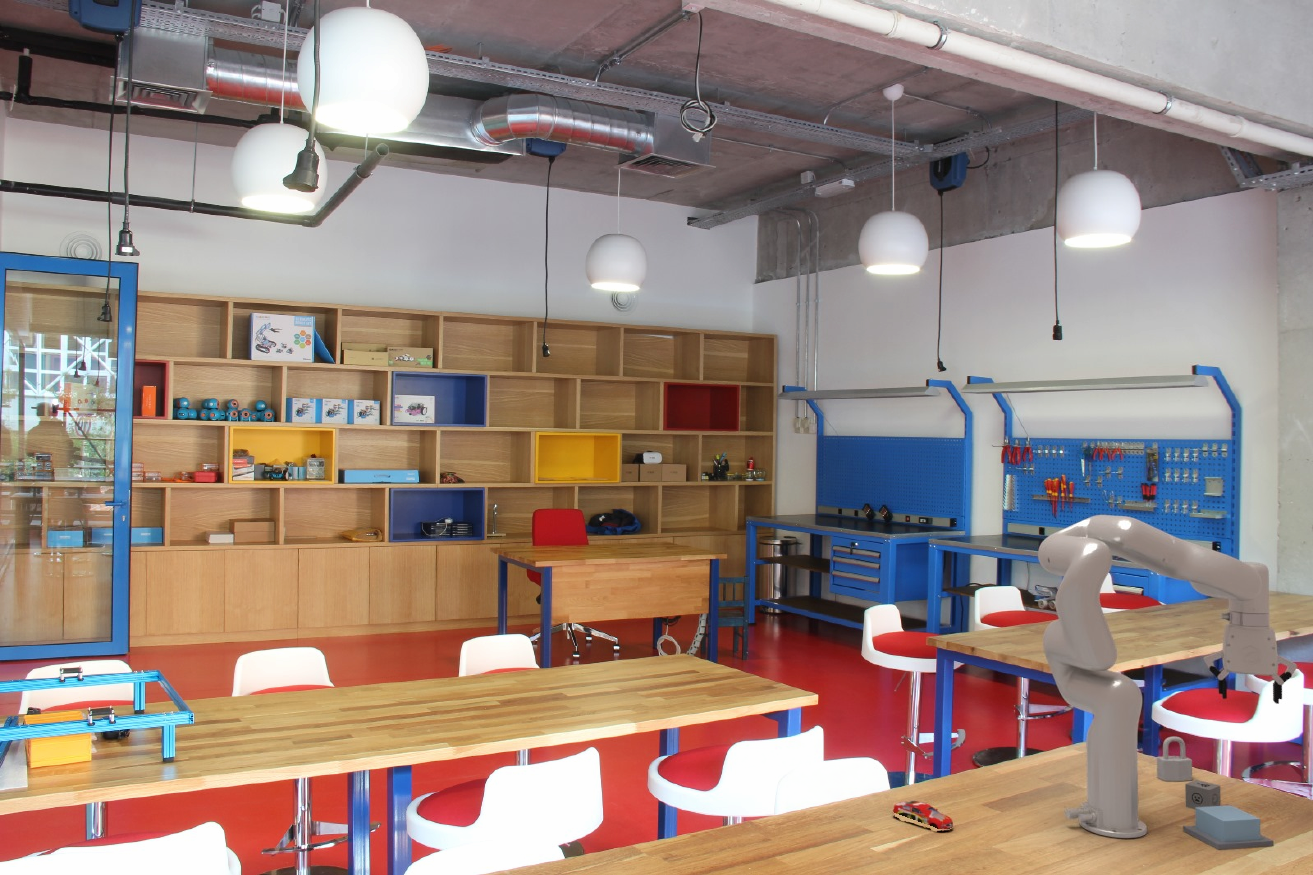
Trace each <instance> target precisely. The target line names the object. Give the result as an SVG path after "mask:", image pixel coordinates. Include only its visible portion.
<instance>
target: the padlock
mask: <svg viewBox="0 0 1313 875" xmlns="http://www.w3.org/2000/svg"><path fill="white" fill-rule="evenodd" d="M1173 742H1177V743H1178V744H1179V753H1180V754H1179V756H1178V755H1169V746H1170V743H1173ZM1156 777H1157V779H1160V780H1161V781H1164V782H1185V781H1186V782H1187V781H1189V782H1192V781H1193V759H1191V758H1189V757H1187V756H1186V743H1185V741H1184V739H1183V738H1181V737H1179V736H1169V737H1167V738H1165V739H1164V741H1163V744H1162V756H1156Z"/></svg>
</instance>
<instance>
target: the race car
mask: <svg viewBox="0 0 1313 875" xmlns="http://www.w3.org/2000/svg"><path fill="white" fill-rule="evenodd" d="M893 812H894V813H896V814H899V815H902V816H905V817H907V818H910V819H913V820H916V821H918V822H921V823H924V824H927V825H930V826H933V827H935V828H937V829H950V828H952V827H954V821H953V819H952V817H950V816H948V815H946V814H944V813H942V812H940V811H939V810H938V808H935V807H933V806H932V805H931V804H929V803H926V802H922V801H918V800H910V801H899V802H897V803H895V804H894V806H893V809H892V813H893Z"/></svg>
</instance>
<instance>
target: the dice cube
mask: <svg viewBox="0 0 1313 875" xmlns="http://www.w3.org/2000/svg"><path fill="white" fill-rule="evenodd" d="M1184 787H1185V808H1188V809H1193V810H1195V807H1210V806H1222V803H1221V801H1222V800H1221V797H1222V796H1221V785H1219V784H1215V783H1212V782H1207V781H1203V780H1199V779H1195V780H1191V781H1189V782H1187V783H1185V786H1184Z"/></svg>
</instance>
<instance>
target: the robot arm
mask: <svg viewBox="0 0 1313 875" xmlns="http://www.w3.org/2000/svg"><path fill="white" fill-rule="evenodd" d="M1113 556H1114V557H1119V558H1122V559H1125V560H1127V561H1128V562H1131V563H1133V564H1135V565H1139V566H1141V567H1143V568H1145V569H1147V570H1149V571H1151V572H1153V573H1155V574H1158V575H1160V576H1163V577H1165V578H1166V577H1167V578H1171V579H1175V580H1178V581H1182V582H1183V581H1184V582H1189V584H1190V585H1191V587H1192V588H1193V589H1194V590H1195V591H1196V592H1198V593H1199V594H1201V595H1203V596H1207V597H1213V598H1219V599H1226V600H1227V599H1228V611H1227V612H1221V616H1220V617H1221V620H1225V621H1227V622H1228V624H1227V623H1226V624H1225V627H1224V631H1223V638H1222V650H1219V651H1216V652H1214V653H1210V654H1209V655H1206V656H1204V657H1203V661H1204V663H1205V664H1206V666H1207V668H1208V669H1209V671H1210V672H1211V673H1212V674H1213V675H1214V676H1215V677H1216V678H1217V679H1218V682H1217V683H1218V694H1219V695H1221V697H1222V699H1223V700H1226V699H1228V698H1227V697H1228V695H1227V694H1228V692H1227V691H1228V690H1227V689H1228V688H1227V687H1228V686H1227V685H1228V684H1227V683H1228V682H1227V679H1226V677H1227V676H1228V675H1229V674H1230V673H1232V674H1240V675H1252V676H1253V675H1254V676H1267V677H1269V676H1270V677H1271V678H1272V679H1273V680H1274V681H1273V682H1272V700H1273V702H1274V703H1275V704H1276V705H1277V704H1280V700H1283V685H1284V684H1285V683H1286V682H1287V681H1288V680H1289V679H1291V678H1292V676H1293V674H1294V673H1295V672H1296V670H1297V668H1298V665H1297V664H1296V663H1295V662H1294V661H1291V660H1289V659H1287V658H1285V657H1283V656H1282V655H1279V654H1278V645H1277V638H1276V633H1275V629H1274V628H1273V627H1271V626H1270V580H1269V579H1270V577H1269V576H1270V574H1269V568H1268V566H1267V565H1266V564H1264V563H1260V562H1254V561H1253V562H1252V561H1242V560H1240V559H1238V558H1235V557H1233V556H1232V555H1231V556H1230V555H1229V554H1225V553H1222V552H1221V551H1217V550H1214V549H1211V548H1208V547H1205V546H1201V545H1199V544H1197V543H1194V542H1190V541H1187V540H1184V539H1181V538H1179V537H1177V536H1174V535H1172V534H1170V533H1167V532H1165V531H1163V530H1161V529H1160V528H1157V527H1154V526H1152V525H1151V524H1148V523H1146V522H1144V521H1141V520H1139V519H1137V518H1134V517H1132V516H1127V515H1125V516H1124V515H1112V514H1109V515H1108V514H1096V515H1093V516H1090V517H1088V518H1085V519H1082V520H1081V521H1079V522H1076V523H1074V524H1071V525H1070V526H1067V527H1065V528H1063V529H1061V530H1058V531H1056V532H1054V533H1052V534H1050V535H1048V536H1047V537H1046V538H1045V539H1044V540H1042V542H1041V543H1040V545H1039V548H1038V551H1037V557H1038V562H1039V563H1040V566H1041V567H1042V569H1044V570H1045V571H1046V572H1048V573H1050V574H1052V575H1055V576H1062V577H1063V578H1062V580H1061V582H1060V584H1059V586H1058V588H1057V592H1056V595H1055V600H1054V602H1055V610H1056V611H1055V612H1056V613H1057V618H1058V619H1055V620H1053V621H1051V622H1050V623H1049V624H1048V625H1047V626H1046V628H1045V630H1044V633H1043V637H1042V648H1043V651H1044V652H1043V653H1044V655H1045V659H1046V661H1047V664H1048V666H1049V669H1050V672H1051V674H1052V677H1053V679H1054V681H1055V684H1056V687H1057V689H1058V691H1059V693H1060V694H1061V697H1062V699H1064V701H1065V702H1066V703H1067V704H1068V705H1070V706H1072V707H1073V708H1076V709H1078V710H1081V711H1084V712H1086V713H1090V714H1092V715H1093V718H1092V721H1091V723H1090V725H1089V727H1088V730H1087V733H1086V742H1085V744H1086V799H1087V800H1086V801H1082V802H1081V806H1079V807H1078V808H1065V810H1064V815H1065V817H1066V819H1068V820H1071V819H1074V820H1075V819H1078V821H1079V825H1080V826H1081V827H1082V828H1083V829H1085V830H1086V831H1089V832H1091V833H1093V834H1096V835H1100V836H1104V837H1108V838H1109V837H1111V838H1117V839H1134V838H1140V837H1144V836H1145V835H1146V834H1147V833H1148V832H1147V831H1148V827H1147V824H1146V823H1144V821H1142V820H1140V819H1139V787H1138V786H1139V783H1138V781H1139V780H1138V779H1139V778H1138V777H1139V776H1138V775H1139V773H1138V772H1139V771H1138V769H1139V768H1138V765H1139V764H1138V731H1139V730H1138V729H1139V722H1140V716H1141V711H1142V707H1143V694H1142V691H1141V689H1140V686H1138V684H1137V683H1136V682H1135V681H1134V680H1133V679H1131V678H1130V677H1128V676H1127V675H1125V674H1122V673H1120V672H1116V671H1112V670H1110V669H1112V667H1114V666H1115V664H1116V663H1117V658H1118V650H1117V647H1116V643H1115V640H1114V637H1113V635H1112V632H1111V629H1110V627H1109V625H1108V624H1109V623H1108V622H1107V620H1106V617H1105V613H1104V611H1103V608H1102V605H1101V600H1100V594H1101V590H1102V588H1103V584H1104V582H1105V580H1106V578H1107V576H1108V575H1109V572H1110V571H1111V568H1112V566H1113V565H1112V564H1113ZM1220 659H1221V662H1222V668H1220V670H1219V669H1218V668H1217V667H1216V666H1215V665H1214V663H1213V662H1214V661H1216V660H1220ZM1279 663H1280V664H1282V665H1284V666H1286V667H1287V668H1286V670H1285V671H1284V672H1283V673H1282V674H1280V675H1279V674H1278V671H1279Z"/></svg>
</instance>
